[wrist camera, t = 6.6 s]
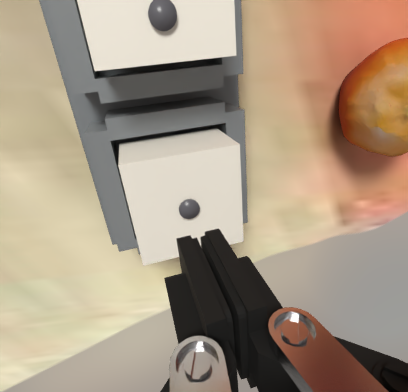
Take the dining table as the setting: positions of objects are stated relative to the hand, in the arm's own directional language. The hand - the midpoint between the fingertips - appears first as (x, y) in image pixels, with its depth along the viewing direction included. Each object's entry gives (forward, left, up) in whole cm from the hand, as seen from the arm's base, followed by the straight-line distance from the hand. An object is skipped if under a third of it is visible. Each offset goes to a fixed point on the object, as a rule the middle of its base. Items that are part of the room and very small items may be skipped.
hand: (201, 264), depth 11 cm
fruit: (-17, -3, -13) cm, 22 cm away
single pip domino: (0, 0, -9) cm, 9 cm away
